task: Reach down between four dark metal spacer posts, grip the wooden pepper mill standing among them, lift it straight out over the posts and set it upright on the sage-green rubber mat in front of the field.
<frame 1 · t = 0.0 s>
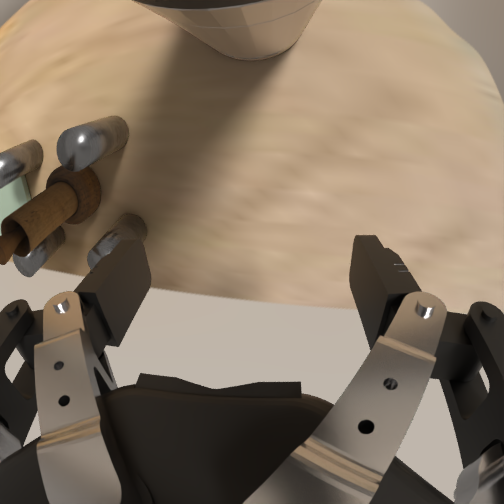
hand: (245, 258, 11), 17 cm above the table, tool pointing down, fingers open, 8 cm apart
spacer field: (77, 189, 28), on the table
wooden pepper mill: (78, 188, 28), on the table
green mat: (5, 199, 29), on the table
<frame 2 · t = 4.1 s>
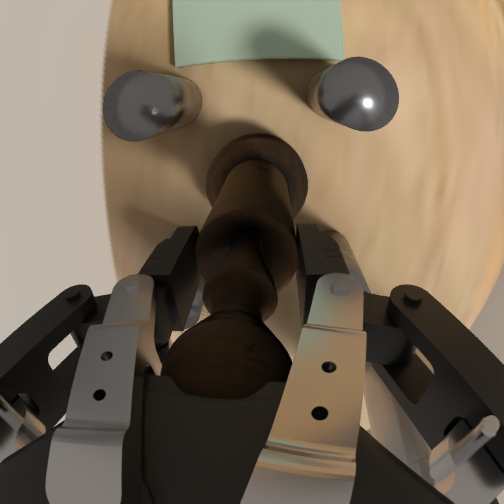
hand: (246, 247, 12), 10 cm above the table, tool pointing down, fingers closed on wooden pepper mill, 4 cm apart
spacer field: (257, 178, 21), on the table
wooden pepper mill: (258, 177, 21), on the table, touching gripper
when the fingers open (12 cm above the table, at t = 10.4 s): wooden pepper mill drops 1 cm, resting on green mat.
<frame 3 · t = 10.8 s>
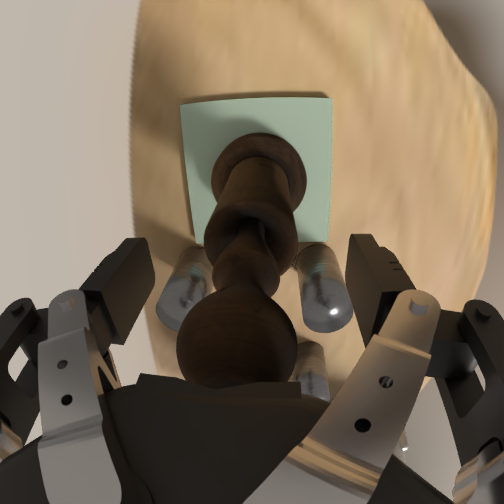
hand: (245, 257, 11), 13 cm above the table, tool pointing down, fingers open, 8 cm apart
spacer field: (259, 314, 29), on the table
wooden pepper mill: (259, 174, 22), point 1 cm above the table, touching green mat
green mat: (258, 171, 22), on the table
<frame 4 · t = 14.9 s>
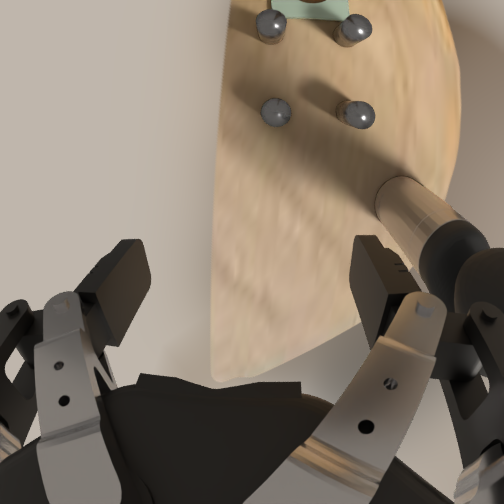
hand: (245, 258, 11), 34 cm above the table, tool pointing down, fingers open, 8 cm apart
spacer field: (310, 71, 35), on the table
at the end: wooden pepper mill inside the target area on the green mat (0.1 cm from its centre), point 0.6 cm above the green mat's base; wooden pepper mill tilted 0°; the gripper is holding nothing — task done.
